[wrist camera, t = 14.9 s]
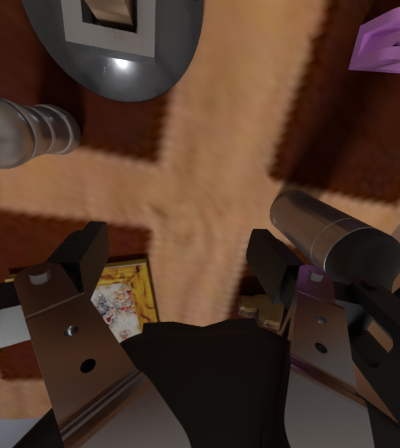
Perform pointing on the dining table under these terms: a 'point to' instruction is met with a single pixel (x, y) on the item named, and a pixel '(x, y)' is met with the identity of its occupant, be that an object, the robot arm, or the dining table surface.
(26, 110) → the plastic bottle
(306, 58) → the dining table surface
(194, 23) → the grey round socket base
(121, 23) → the tan rectangular block
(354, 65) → the bracket
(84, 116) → the dining table surface
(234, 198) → the dining table surface
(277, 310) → the wooden carving
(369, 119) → the dining table surface
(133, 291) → the picture frame
